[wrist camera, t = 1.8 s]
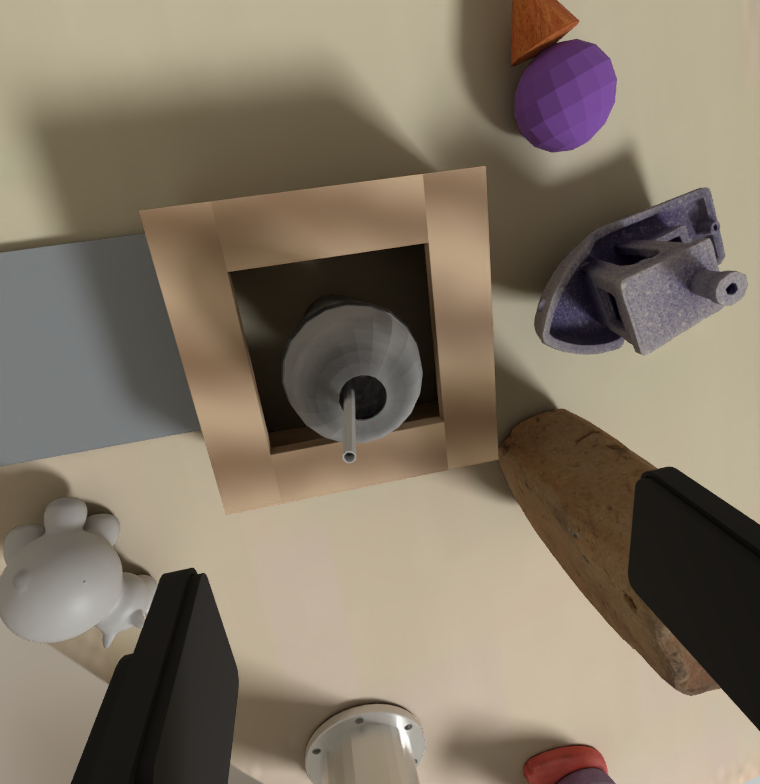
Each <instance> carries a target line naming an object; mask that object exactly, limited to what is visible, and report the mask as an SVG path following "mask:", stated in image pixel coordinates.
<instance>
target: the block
mask: <svg viewBox="0 0 760 784" xmlns="http://www.w3.org/2000/svg"><path fill="white" fill-rule="evenodd" d="M498 458H499V460H498V461H499V464H500V467H501V470H502V472H503V475H504V477H505V480H506V482H507V484H508V485H509V487H510V490H511V492H512V494H513V495H514V497H515V499H516V501H517V502H518V504H519V505H520V507H521V508H522V510H523V512H524V514H525V515H526V517H527V519H528V520H529V522H530V523H531V525H532V527H533V528H534V530H535V531H536V532H537V534H538V535H539V537H540V538H541V540H542V541H543V542H544V543H545V545H546V546H547V548H548V549H549V550H550V552H551V553H552V555H553V556H554V557H555V558H556V560H557V561H558V562H559V564H560V565H561V566H562V568H563V569H564V570H565V572H566V573H567V574H568V576H569V577H570V578H571V579H572V581H573V582H574V583H575V584H576V586H577V587H578V588H579V589H580V591H581V592H582V593H583V594H584V596H585V597H586V598H587V599H588V600H589V601H590V603H591V604H592V605H593V606H594V607H595V608H596V609H597V611H598V612H599V613H600V614H601V615H602V616H603V618H604V619H605V620H606V621H607V622H608V624H609V625H610V626H611V627H612V628H613V629H614V630H615V631H616V632H617V633H618V634H619V635H620V636H621V638H622V639H623V640H625V641H626V642H627V643H628V644H629V645H630V646H631V647H632V648H633V649H635V650H636V651H637V652H638V653H639V654H640V655H641V656H642V657H643V658H644V659H645V660H646V662H647V663H648V664H649V665H650V666H651V667H652V668H653V669H654V670H655V671H656V672H657V673H658V674H659V676H660V677H661V678H662V679H664V680H665V681H666V682H667V683H668V684H670V685H671V686H672V687H673V688H674V689H676V690H677V691H679V692H681V693H683V694H686V695H690V696H692V695H697V694H701V693H704V692H707V691H710V690H715V689H720V688H721V687H720V686H719V685H718V684H717V683H716V682H715V681H714V680H713V678H712V677H711V676H710V675H709V674H708V673H707V672H706V671H705V670H704V668H703V667H702V666H701V665H700V664H699V663H698V662H697V661H696V660H695V658H694V657H693V656H692V655H691V654H690V653H689V652H688V651H687V649H686V648H685V647H684V646H683V645H682V644H681V643H680V642H679V641H678V639H677V638H676V637H675V636H674V635H673V634H672V633H671V632H670V631H669V629H668V628H667V627H666V626H665V625H664V624H663V623H662V622H661V621H660V619H659V618H658V617H657V616H656V615H655V614H654V613H653V612H652V611H651V609H650V608H649V607H648V606H647V605H646V604H645V603H644V602H643V601H642V599H641V598H640V597H639V596H638V595H637V594H636V593H635V591H634V590H633V589H632V587H631V585H630V583H629V580H628V564H629V552H630V540H631V529H632V517H633V506H634V494H635V485H636V482H637V481H638V480H640V478H641V475H642V474H643V473H644V472H646V471H650V470H655V469H657V468H656V467H654V466H653V465H652V464H650V463H649V462H647V461H646V460H645V459H643V458H641V457H640V456H638V455H637V454H635V453H634V452H633V451H631V450H629V449H628V448H627V447H626V446H625V445H623V444H622V443H621V442H619V441H618V440H617V439H615V438H614V437H612V436H611V435H609V434H608V433H606V432H604V431H603V430H601V429H600V428H598V427H597V426H595V425H593V424H592V423H590V422H589V421H587V420H585V419H583V418H581V417H579V416H577V415H575V414H573V413H571V412H569V411H567V410H565V409H556V410H551V411H549V412H545V413H541V414H538V415H535V416H533V417H531V418H529V419H527V420H525V421H523V422H521V423H519V424H517V425H516V426H515V427H514V428H513V429H512V432H511V434H510V435H509V437H508V438H507V439H506V440H505V441H504V442H503V443H502V444H501V445H500V447H499V449H498Z"/></svg>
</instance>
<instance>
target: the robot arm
mask: <svg viewBox="0 0 760 784" xmlns="http://www.w3.org/2000/svg"><path fill="white" fill-rule="evenodd" d="M628 580H629V583H630V585H631V587H632V589H633V590H634V591H635V593H636V594H637V595H638V596H639V597H640V598H641V599H642V601H643V602H644V603H645V604H646V605H647V606H648V607H649V608H650V609H651V611H652V612H653V613H654V614H655V615H656V616H657V617H658V618H659V619H660V621H661V622H662V623H663V624H664V625H665V626H666V627H667V628H668V629H669V631H670V632H671V633H672V634H673V635H674V636H675V637H676V638H677V639H678V641H679V642H680V643H681V644H682V645H683V646H684V647H685V648H686V649H687V651H688V652H689V653H690V654H691V655H692V656H693V657H694V658H695V660H696V661H697V662H698V663H699V664H700V665H701V666H702V667H703V668H704V670H705V671H706V672H707V673H708V674H709V675H710V676H711V677H712V678H713V680H714V681H715V682H716V683H717V684H718V685H719V686H720V687H721V688H722V690H723V691H724V692H725V693H726V694H727V695H728V696H729V697H730V698H731V700H732V701H733V702H734V703H735V704H736V705H737V706H738V707H739V708H740V710H741V711H742V712H743V713H744V714H745V715H746V716H747V717H748V718H749V720H750V721H751V722H752V723H753V724H754V725H755V726H756V727H757V728H758V730H759V731H760V524H758V523H757V522H755V521H754V520H752V519H751V518H749V517H748V516H746V515H745V514H743V513H742V512H740V511H739V510H737V509H736V508H734V507H733V506H731V505H730V504H728V503H727V502H725V501H724V500H722V499H721V498H719V497H718V496H716V495H715V494H713V493H712V492H710V491H709V490H707V489H706V488H704V487H703V486H701V485H700V484H698V483H697V482H695V481H694V480H692V479H691V478H689V477H688V476H686V475H685V474H683V473H682V472H681V471H679V470H678V469H676V468H674V467H664V468H660V469H655V470H650V471H646V472H644V473H643V474H642V475H641V478H640V480H638V481H637V482H636V485H635V494H634V506H633V517H632V529H631V540H630V552H629V564H628ZM238 687H239V678H238V670H237V666H236V663H235V660H234V657H233V654H232V651H231V648H230V645H229V641H228V638H227V635H226V632H225V629H224V626H223V623H222V620H221V617H220V614H219V611H218V608H217V605H216V602H215V599H214V596H213V593H212V590H211V587H210V584H209V581H208V578H207V575H206V574H205V573H201V574H197V572H196V570H195V569H194V568H189V569H184V570H179V571H175V572H170V573H165V574H163V575H162V576H161V578H160V581H159V583H158V586H157V589H156V592H155V594H154V597H153V600H152V603H151V606H150V608H149V611H148V614H147V617H146V619H145V622H144V625H143V628H142V631H141V633H140V636H139V639H138V642H137V644H136V647H135V650H134V653H133V654H129V655H124V656H123V657H122V658H121V659H120V660H119V662H118V664H117V666H116V668H115V671H114V673H113V676H112V679H111V681H110V684H109V686H108V689H107V691H106V694H105V697H104V699H103V702H102V704H101V707H100V710H99V712H98V715H97V717H96V720H95V722H94V725H93V728H92V730H91V733H90V736H89V738H88V741H87V743H86V746H85V748H84V751H83V753H82V756H81V759H80V761H79V764H78V766H77V769H76V772H75V774H74V777H73V780H72V782H71V784H228V776H229V767H230V759H231V750H232V741H233V732H234V723H235V714H236V705H237V697H238ZM424 750H425V738H424V734H423V729H422V727H421V725H420V722H419V721H418V720H417V719H416V717H415V716H414V715H412V714H411V713H410V712H408V711H407V710H404V709H402V708H400V707H397V706H392V705H388V704H368V705H362V706H357V707H353V708H351V709H348V710H345V711H342V712H341V713H339V714H337V715H335V716H333V717H331V718H330V719H329V720H327V721H326V722H325V723H323V724H322V725H321V726H320V727H319V728H318V729H317V730H316V731H315V733H314V734H313V735H312V737H311V738H310V740H309V742H308V745H307V747H306V753H305V768H306V772H307V776H308V777H309V779H310V780H311V782H312V783H313V784H420V783H419V778H418V774H417V769H416V767H417V766H418V764H419V763H420V761H421V759H422V757H423V754H424Z"/></svg>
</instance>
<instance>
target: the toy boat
mask: <svg viewBox="0 0 760 784" xmlns="http://www.w3.org/2000/svg"><path fill="white" fill-rule="evenodd" d="M719 228H720V224H719V222H718V221H717V217H716V212H715V208H714V204H713V199H712V195H711V192H710V189H709V188H706V187H705V188H699V189H696V190H693V191H691V192H688V193H686V194H683V195H681V196H678V197H676V198H673V199H671V200H668V201H665V202H663V203H661V204H658V205H656V206H653V207H651V208H648V209H646V210H643V211H640V212H638V213H635V214H633V215H630V216H627V217H625V218H623V219H620V220H617V221H615V222H612V223H610V224H607V225H605V226H602V227H600V228H598V229H596V230H595V231H593V232H591V233H590V234H588V235H587V236H586V238H585V239H584V240H583V241H581V242H580V243H579V244H578V245H577V246H576V247H574V248H573V249H572V250H571V251H570V252H569V253H568V254H567V255H566V257H565V258H564V259H563V260H562V261H561V263H560V264H559V265H558V266H557V268H556V269H555V271H554V272H553V274H552V275H551V277H550V279H549V281H548V283H547V285H546V287H545V289H544V291H543V294H542V296H541V298H540V301H539V304H538V308H537V312H536V315H535V322H534V327H535V331H536V333H537V335H538V336H539V338H540V339H541V341H542V343H543V344H545V345H547V346H549V347H552V348H555V349H557V350H560V351H564V352H569V353H575V354H586V355H587V354H600V353H604V352H607V351H612V350H615V349H618V348H620V347H622V345H623V343H624V339H625V340H627V342H629V343H631V344H632V345H633V347H634V349H635V352H637V353H639V354H642V355H646V354H648V353H650V352H652V351H654V350H656V349H657V348H658V347H660V346H662V345H664V344H665V343H667V342H668V341H670V340H672V339H673V338H674V337H676V336H678V335H679V334H680V333H682V332H684V331H686V330H688V329H689V328H691V327H692V326H694V325H696V324H697V323H699V322H701V321H702V320H703V319H705V318H707V317H709V316H710V315H712V314H714V313H716V312H717V311H719V310H720V309H722V308H723V307H724V306H729V305H733V304H734V303H736V302H738V301H740V300H741V299H742V298H743V296H744V295H745V292H746V289H747V286H748V282H747V278H746V275H745V274H742V273H740V272H737V271H723V272H719V269H718V265H719V264H721V263H722V261H723V259H724V258H725V252H724V247H723V242H722V238H721V234H720V230H719Z"/></svg>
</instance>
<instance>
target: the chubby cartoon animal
mask: <svg viewBox="0 0 760 784" xmlns="http://www.w3.org/2000/svg"><path fill="white" fill-rule="evenodd" d="M86 517H87V506H86V504H85V503H84V502H83V501H82V500H81V499H78V498H72V497H66V498H59V499H55V500H53V501H52V502H50V503H49V504H48V506H47V507H46V510H45V513H44V526H45V528H43V527H42V526H40V525H36V524H27V525H21V526H18V527H15V528H14V529H12V530H11V531H10V532H9V533H8V534H7V536H6V538H5V541H4V546H3V554H4V559H5V562H6V564H7V566H6V568H5V569H4V571H3V573H2V575H1V577H0V617H1V619H2V620H3V622H4V624H5V625H6V626H7V627H8V628H9V629H10V630H11V631H12V632H13V633H15V634H16V635H18V636H20V637H21V638H24V639H26V640H29V641H33V642H40V643H54V642H60V641H65V640H68V639H71V638H74V637H76V636H79V635H81V634H83V633H84V632H86V631H88V630H89V629H91V628H92V627H93V626H95V627H96V628H98V629H100V630H101V631H102V633H103V645H104V647H105V648H108V647H109V646H110V645H111V643H112V641H113V639H114V637H115V636H116V635H117V634H118V633H119V632H121V631H124V630H127V629H129V628H131V627H132V626H135V627H137V628H143V625H144V615H146V616H147V614H148V611H149V608H150V606H151V603H152V600H153V597H154V594H155V592H156V589H157V586H158V584H157V582H156V581H155V579H153V578H152V577H151V576H148V575H135V574H132V573H128V572H122V565H121V561H120V558H119V556H118V554H117V552H116V551H115V549H114V548H113V546H114V544H115V542H116V540H117V538H118V535H119V531H120V523H119V520H118V519H117V518H116V517H115V516H114V515H111V514H95V515H91V516H89V517H88V518H87V519H86Z"/></svg>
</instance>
